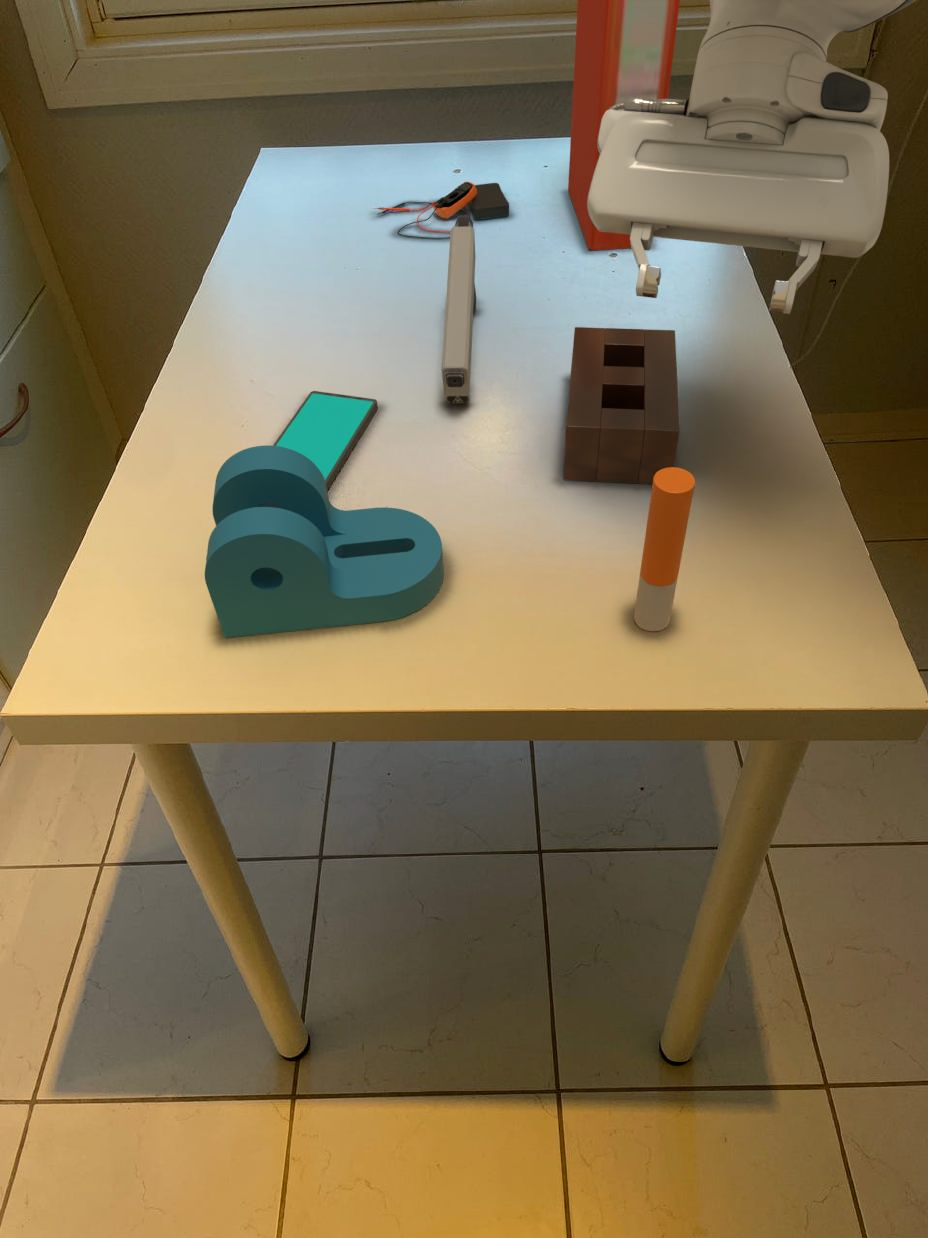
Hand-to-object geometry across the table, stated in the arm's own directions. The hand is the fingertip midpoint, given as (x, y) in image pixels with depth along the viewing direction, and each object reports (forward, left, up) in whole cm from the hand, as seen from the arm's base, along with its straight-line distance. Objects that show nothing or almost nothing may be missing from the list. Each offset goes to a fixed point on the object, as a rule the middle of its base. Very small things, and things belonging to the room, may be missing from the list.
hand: (711, 302), depth 66 cm
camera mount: (+28, +10, -21) cm, 36 cm away
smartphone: (+34, -8, -20) cm, 41 cm away
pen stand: (+5, -13, -20) cm, 25 cm away
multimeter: (+29, -58, -21) cm, 68 cm away
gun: (+22, -26, -21) cm, 40 cm away
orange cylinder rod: (+2, +12, -20) cm, 24 cm away
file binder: (+7, -59, -21) cm, 63 cm away
